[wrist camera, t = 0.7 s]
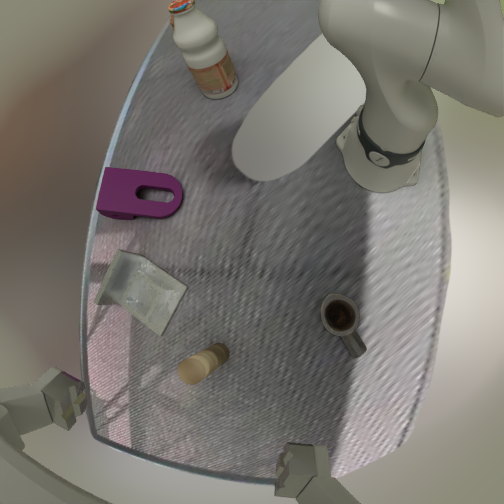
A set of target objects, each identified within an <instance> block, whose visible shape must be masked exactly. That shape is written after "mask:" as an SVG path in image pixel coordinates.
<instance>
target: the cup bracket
mask: <svg viewBox="0 0 504 504" xmlns="http://www.w3.org/2000/svg"><path fill="white" fill-rule="evenodd" d="M187 289H188V286H187V285H185V284H184V283H182V282H181V281H179V280H178V279H176V278H175V277H173V276H172V275H170V274H169V273H167V272H166V271H164V270H163V269H162V268H160V267H159V266H157V265H156V264H154V263H153V262H151V261H150V260H149V259H147V258H146V257H144V256H143V255H140V254H136V253H132V252H128V251H124V250H120V249H118V250H117V252H116V254H115V256H114V258H113V260H112V262H111V264H110V267H109V269H108V271H107V273H106V275H105V277H104V279H103V282H102V284H101V286H100V288H99V291H98V293H97V295H96V298H95V300H94V302H95V303H96V304H97V305H118V304H120V305H121V306H123V307H124V308H125V309H126V310H127V311H129V312H130V313H131V314H132V315H134V316H135V317H136V318H137V319H139V320H140V321H141V322H142V323H144V324H145V325H146V326H147V327H149V328H150V329H151V330H153V331H154V332H155V333H157V334H158V335H159V336H163V334H164V332H165V330H166V328H167V327H168V325H169V323H170V321H171V319H172V317H173V315H174V313H175V311H176V310H177V308H178V306H179V304H180V302H181V300H182V298H183V297H184V295H185V293H186V291H187Z"/></svg>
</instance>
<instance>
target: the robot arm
mask: <svg viewBox="0 0 504 504" xmlns="http://www.w3.org/2000/svg"><path fill="white" fill-rule="evenodd" d="M318 20H319V25H320V28H321V30H322V32H323V35H324V36H325V38H326V39H327V41H328V42H329V43H330V45H332V46H333V47H334V48H336V49H337V50H339V51H340V52H341V53H342V54H343V55H345V56H346V57H347V58H348V59H349V60H350V61H351V62H352V64H353V65H354V66H355V67H356V68H357V70H358V71H359V73H360V74H361V76H362V78H363V80H364V82H365V85H366V90H367V91H366V101H365V106H362V105H361V106H360V107H359V108H358V110H357V113H356V114H357V116H356V117H355V116H354V117H353V118H352V120H351V123H350V124H349V125H348V126H347V128H346V129H345V130H344V131H343V132H342V133H341V134H340V135H339V137H338V138H337V140H336V144H337V146H338V148H339V149H340V151H341V152H342V154H343V158H344V163H345V166H346V169H347V171H348V173H349V174H350V176H351V177H352V178H353V179H354V180H355V181H356V182H357V183H358V184H359V185H361V186H362V187H364V188H366V189H368V190H370V191H373V192H379V193H387V192H392V191H394V190H397V189H398V188H400V187H403V186H413V185H415V184H416V183H417V181H418V175H419V167H420V158H421V150H422V148H423V146H424V143H425V139H426V137H427V136H428V134H429V133H430V131H431V130H432V128H433V127H434V125H435V124H436V121H437V118H438V106H437V102H436V100H435V97H434V95H433V92H432V90H431V89H430V87H432V88H434V89H436V90H438V91H440V92H442V93H444V94H446V95H448V96H450V97H451V98H453V99H455V100H457V101H459V102H461V103H462V104H464V105H466V106H469V107H472V108H474V109H477V110H479V111H482V112H485V113H487V114H490V115H493V116H495V117H502V116H504V18H503V14H502V9H501V4H500V0H445V3H444V4H439V3H435V2H432V1H430V0H320V3H319V7H318ZM344 137H345V139H344ZM84 389H85V385H84V382H82V381H80V380H78V379H77V378H75V377H73V376H71V375H69V374H67V373H66V372H64V371H62V370H60V369H58V368H57V367H51V368H50V369H49V370H48V371H47V372H46V373H45V374H44V375H43V376H41V377H40V378H39V379H38V380H37V381H36V382H35V383H34V384H32V385H30V384H26V385H21V386H15V387H10V388H4V389H0V504H112V503H109V502H107V501H105V500H103V499H101V498H99V497H97V496H95V495H93V494H91V493H89V492H87V491H85V490H83V489H81V488H79V487H78V486H76V485H74V484H72V483H70V482H69V481H67V480H65V479H63V478H62V477H60V476H58V475H57V474H55V473H54V472H52V471H50V470H49V469H47V468H46V467H44V466H43V465H41V464H40V463H38V462H37V461H35V460H34V459H33V458H31V457H30V456H28V455H27V454H26V453H24V452H23V451H22V450H23V449H24V447H25V445H24V442H23V441H22V439H21V437H20V435H23V434H26V433H29V432H31V431H34V430H37V429H39V428H42V427H45V426H47V425H50V424H52V423H55V424H57V425H58V426H60V427H62V428H64V429H66V430H68V431H69V430H70V429H71V428H72V426H73V425H74V424H75V423H76V417H77V416H80V415H82V414H83V412H84V411H85V408H86V406H87V396H86V395H85V393H84V392H83V390H84ZM275 474H276V476H277V477H278V479H277V480H276V482H275V496H280V497H288V498H296V500H297V502H298V503H299V504H361V503H359V502H358V501H357V500H356V499H355V498H354V497H353V496H352V495H351V494H350V493H349V492H348V491H347V490H346V489H345V488H344V487H343V486H342V485H341V484H340V483H339V482H338V480H337V479H336V478H332V477H331V472H330V465H329V459H328V452H327V447H326V446H322V445H312V444H301V443H291V442H287V443H286V444H285V446H284V452H283V453H281V454H280V455H279V457H278V460H277V464H276V471H275Z"/></svg>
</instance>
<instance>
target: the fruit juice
mask: <svg viewBox="0 0 504 504" xmlns="http://www.w3.org/2000/svg"><path fill="white" fill-rule="evenodd" d="M168 10H169V12H170V13H171V14H172V15H173V16H174V33H173V40H174V42H175V44H176V46H177V47H178V48H179V49H181V50H182V57H183V59H184V61H185V63H186V65H187V66H188V68H189V70H190V72H191V73H192V75H193V77H194V79H195V80H196V82H197V84H198V86H199V88H200V89H201V91H202V93H203V94H204V95H205V96H206V97H208V98H210V99H222V98H225V97H227V96H229V95H231V94H232V93H233V92H234V91H235V90H236V88H237V86H238V78H237V75H236V72H235V69H234V67H233V64H232V61H231V59H230V56H229V54H228V51H227V48H226V45H225V43H224V41H223V40H222V38H221V37H220V36H219V35H218V27H217V25H216V23H215V22H214V21H213V20H212V19H211V18H209V17H207V16H206V15H204V14H203V13H202V12H201V11H200V10H199V9H198V8H196V7H195V1H194V0H175V1H173V2H172V3H171V4H170V5H169V7H168Z"/></svg>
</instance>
